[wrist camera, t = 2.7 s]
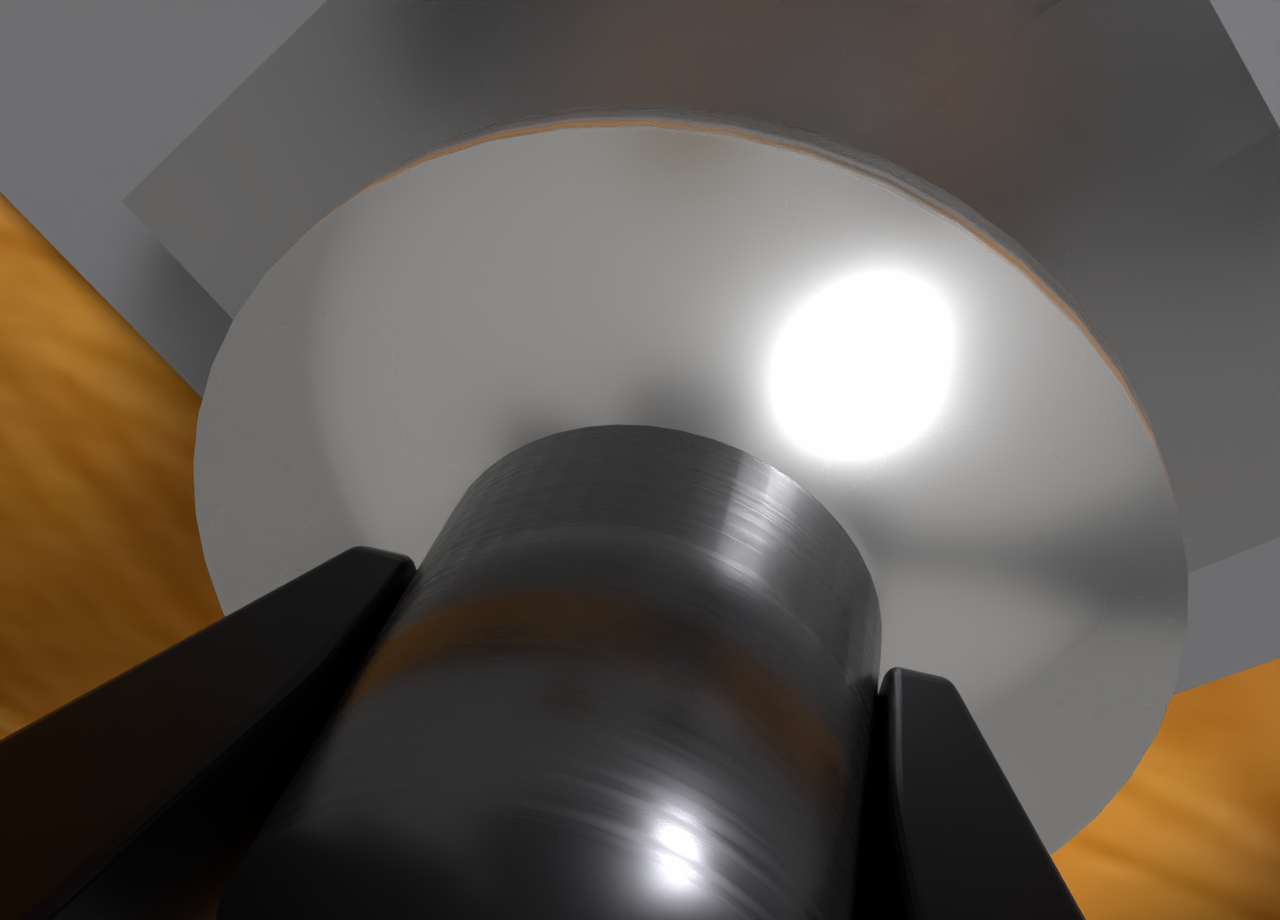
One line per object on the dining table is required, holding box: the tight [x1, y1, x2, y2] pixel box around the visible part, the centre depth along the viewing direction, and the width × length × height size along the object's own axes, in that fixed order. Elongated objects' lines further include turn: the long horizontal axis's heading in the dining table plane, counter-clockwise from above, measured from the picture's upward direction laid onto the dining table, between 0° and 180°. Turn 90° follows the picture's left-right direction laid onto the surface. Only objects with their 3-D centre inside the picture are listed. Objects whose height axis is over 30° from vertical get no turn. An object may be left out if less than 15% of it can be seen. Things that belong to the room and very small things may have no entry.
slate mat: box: [0, 0, 1280, 695], centre depth 17 cm, size 22×22×1 cm
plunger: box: [193, 104, 1188, 920], centre depth 9 cm, size 7×7×8 cm
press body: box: [122, 0, 1280, 573], centre depth 14 cm, size 10×10×5 cm
